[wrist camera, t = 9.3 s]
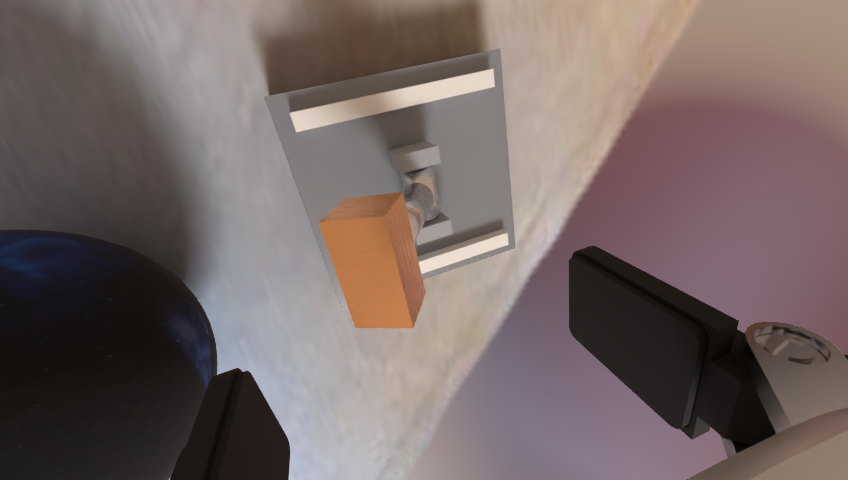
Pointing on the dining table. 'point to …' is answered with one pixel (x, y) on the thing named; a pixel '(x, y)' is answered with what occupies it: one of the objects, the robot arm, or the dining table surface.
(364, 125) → the switch panel
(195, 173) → the dining table surface
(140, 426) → the decorative sphere
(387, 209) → the lever
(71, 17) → the dining table surface
